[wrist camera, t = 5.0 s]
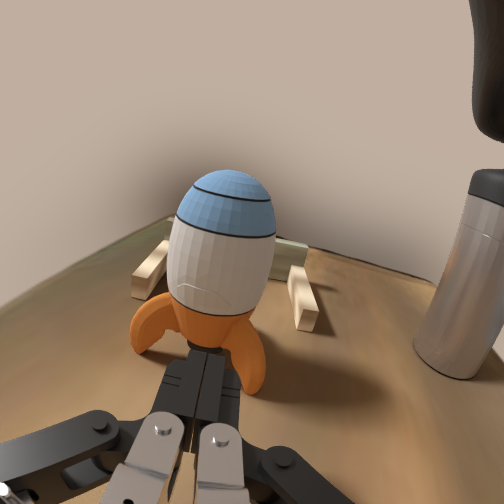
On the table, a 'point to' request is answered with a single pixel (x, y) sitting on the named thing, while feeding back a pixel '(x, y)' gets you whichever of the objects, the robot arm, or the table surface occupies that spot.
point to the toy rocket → (216, 273)
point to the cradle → (283, 268)
